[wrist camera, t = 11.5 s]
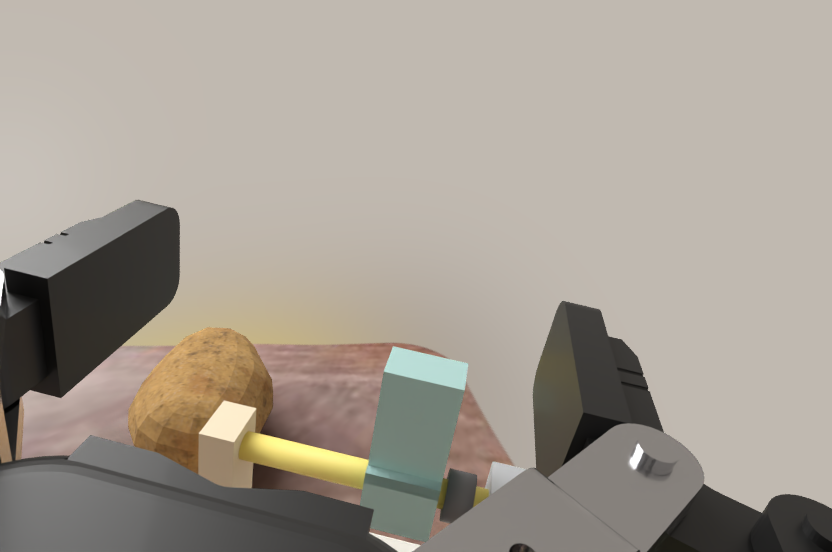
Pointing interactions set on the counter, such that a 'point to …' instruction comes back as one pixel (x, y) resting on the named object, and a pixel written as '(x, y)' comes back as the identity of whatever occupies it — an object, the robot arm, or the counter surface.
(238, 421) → the stand
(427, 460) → the tall teal block
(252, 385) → the potato
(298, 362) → the counter surface
